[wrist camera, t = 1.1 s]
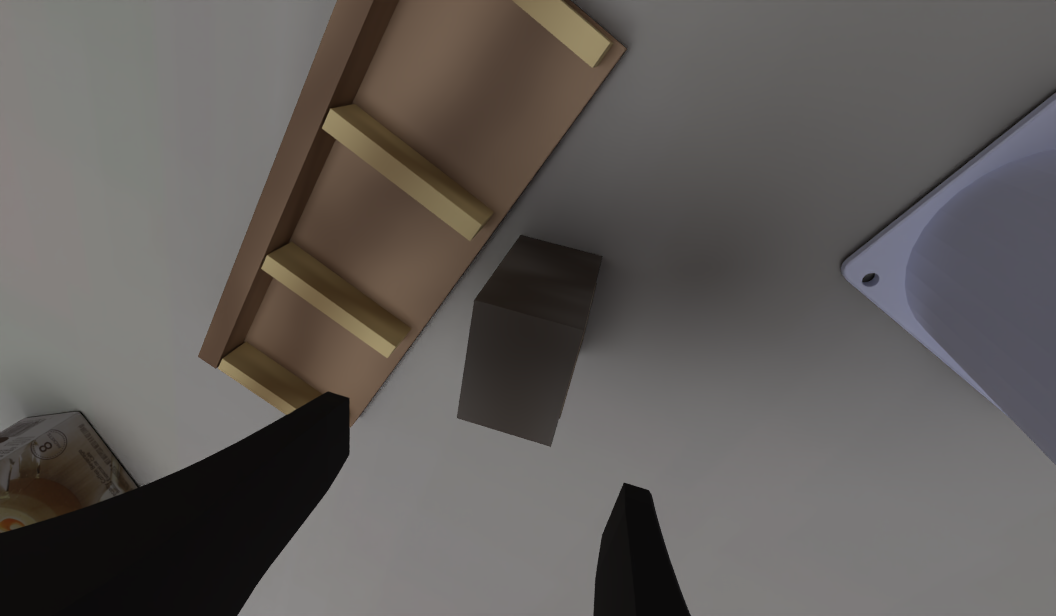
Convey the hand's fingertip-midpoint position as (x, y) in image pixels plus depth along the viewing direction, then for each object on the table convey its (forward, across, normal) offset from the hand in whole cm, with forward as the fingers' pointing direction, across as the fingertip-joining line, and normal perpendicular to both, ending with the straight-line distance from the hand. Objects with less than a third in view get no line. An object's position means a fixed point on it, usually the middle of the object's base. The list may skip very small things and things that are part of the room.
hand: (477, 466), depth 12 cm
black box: (+10, 0, 0) cm, 10 cm away
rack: (+10, +8, -1) cm, 12 cm away
